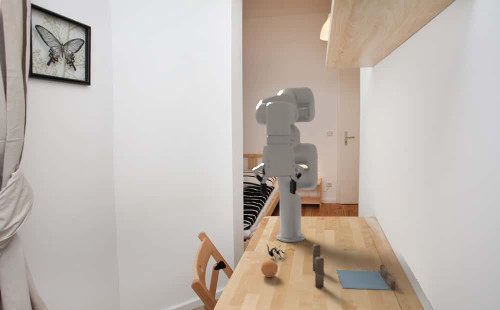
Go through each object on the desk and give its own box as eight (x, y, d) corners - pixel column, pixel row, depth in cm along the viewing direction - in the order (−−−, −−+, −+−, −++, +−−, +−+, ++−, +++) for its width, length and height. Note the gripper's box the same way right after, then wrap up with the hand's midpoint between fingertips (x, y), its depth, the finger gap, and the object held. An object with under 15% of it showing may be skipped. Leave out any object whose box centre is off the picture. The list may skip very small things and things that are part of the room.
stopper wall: (380, 271, 124) (380, 264, 124) (383, 271, 124) (383, 264, 124) (391, 290, 110) (391, 282, 110) (394, 290, 110) (394, 282, 110)
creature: (281, 255, 144) (263, 254, 141) (283, 242, 144) (265, 240, 141) (290, 262, 137) (271, 261, 134) (293, 248, 137) (274, 246, 134)
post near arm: (312, 268, 127) (312, 243, 127) (320, 269, 127) (320, 244, 126) (313, 271, 125) (313, 246, 124) (320, 272, 124) (320, 246, 124)
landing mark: (336, 270, 126) (336, 269, 126) (378, 271, 124) (378, 271, 124) (342, 288, 112) (342, 287, 112) (389, 290, 110) (389, 289, 110)
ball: (261, 272, 124) (261, 257, 124) (277, 273, 124) (277, 257, 123) (260, 279, 119) (260, 263, 119) (277, 280, 118) (277, 263, 118)
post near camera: (314, 284, 115) (315, 256, 114) (323, 284, 115) (323, 257, 114) (315, 288, 112) (315, 259, 112) (324, 288, 112) (324, 260, 111)
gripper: (298, 140, 121) (298, 191, 122) (248, 141, 116) (249, 194, 117) (308, 140, 114) (308, 194, 115) (256, 141, 109) (256, 198, 110)
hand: (278, 194), depth 116 cm, fingers open, 9 cm apart
